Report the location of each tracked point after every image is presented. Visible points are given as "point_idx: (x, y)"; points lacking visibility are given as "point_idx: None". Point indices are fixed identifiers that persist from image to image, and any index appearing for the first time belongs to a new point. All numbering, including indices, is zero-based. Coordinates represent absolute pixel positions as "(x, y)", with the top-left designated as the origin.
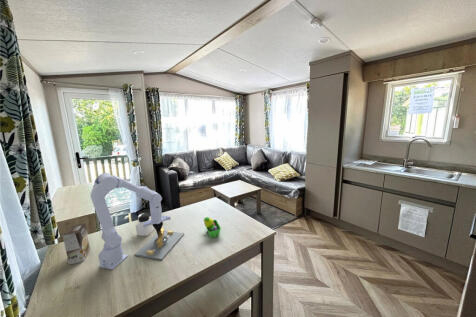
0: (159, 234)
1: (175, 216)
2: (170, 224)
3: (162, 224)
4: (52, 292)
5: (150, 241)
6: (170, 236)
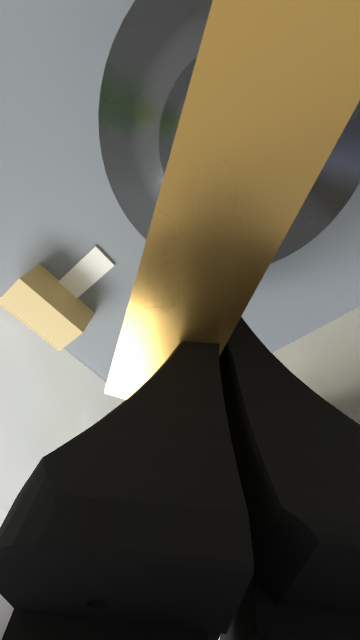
0: (270, 177)
1: (7, 500)
2: (53, 444)
3: (31, 494)
4: None
5: (333, 295)
6: (63, 231)
